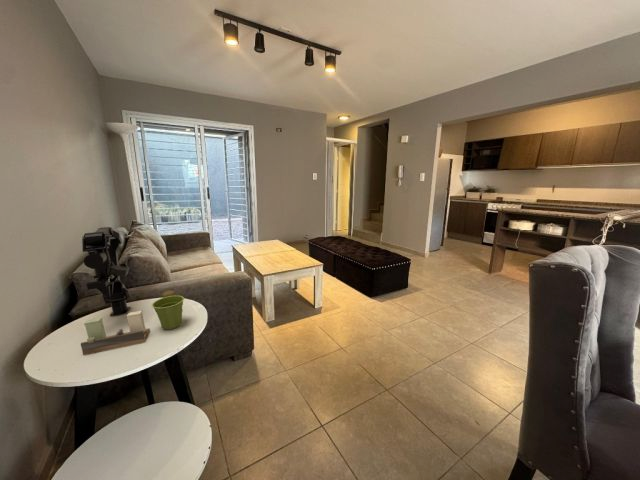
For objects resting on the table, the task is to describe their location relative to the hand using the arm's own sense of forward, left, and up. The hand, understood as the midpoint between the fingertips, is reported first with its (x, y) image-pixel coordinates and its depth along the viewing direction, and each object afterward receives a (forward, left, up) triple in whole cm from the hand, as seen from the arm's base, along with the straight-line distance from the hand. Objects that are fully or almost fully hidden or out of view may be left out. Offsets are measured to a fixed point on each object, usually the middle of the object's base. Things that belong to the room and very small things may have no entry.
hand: (109, 296), depth 109 cm
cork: (0, +22, -13) cm, 26 cm away
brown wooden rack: (+18, +7, -13) cm, 23 cm away
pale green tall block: (+16, 0, -11) cm, 20 cm away
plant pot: (+12, +24, -13) cm, 30 cm away
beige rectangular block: (+16, +13, -11) cm, 24 cm away
